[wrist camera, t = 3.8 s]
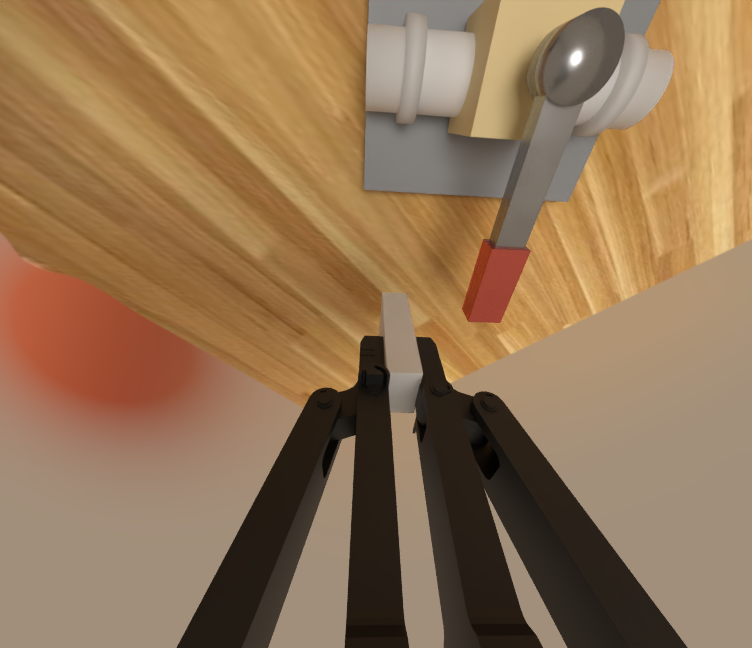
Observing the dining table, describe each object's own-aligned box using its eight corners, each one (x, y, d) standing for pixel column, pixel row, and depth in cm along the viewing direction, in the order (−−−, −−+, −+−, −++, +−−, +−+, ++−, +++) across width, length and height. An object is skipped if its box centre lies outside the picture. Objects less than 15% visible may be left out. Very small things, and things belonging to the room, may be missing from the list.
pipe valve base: (364, 185, 27) (361, 216, 18) (371, -91, 17) (373, -298, 9) (556, 197, 28) (638, 231, 19) (666, -59, 18) (928, -215, 10)
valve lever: (543, 18, 13) (568, 3, 11) (607, 24, 13) (641, 10, 11) (458, 308, 23) (464, 322, 21) (494, 309, 23) (504, 323, 21)
